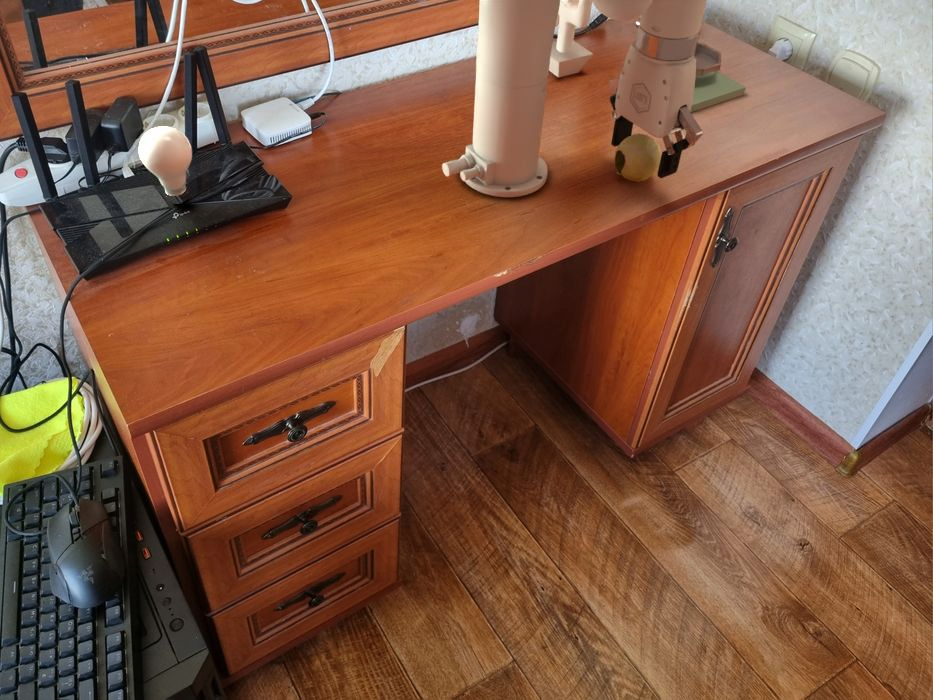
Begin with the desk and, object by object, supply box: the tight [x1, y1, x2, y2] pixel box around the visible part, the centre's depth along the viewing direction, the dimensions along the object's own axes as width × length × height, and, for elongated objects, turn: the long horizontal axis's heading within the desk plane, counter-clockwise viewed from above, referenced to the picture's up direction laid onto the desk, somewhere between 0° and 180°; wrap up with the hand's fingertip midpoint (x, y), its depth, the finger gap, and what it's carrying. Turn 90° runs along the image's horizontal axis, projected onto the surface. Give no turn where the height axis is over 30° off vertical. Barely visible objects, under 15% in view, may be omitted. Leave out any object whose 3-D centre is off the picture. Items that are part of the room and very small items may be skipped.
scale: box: [619, 70, 747, 114], centre depth 134 cm, size 16×14×3 cm
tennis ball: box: [613, 133, 662, 183], centre depth 112 cm, size 6×7×7 cm
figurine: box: [549, 0, 594, 78], centre depth 132 cm, size 7×9×15 cm
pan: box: [694, 41, 722, 78], centre depth 134 cm, size 10×10×2 cm
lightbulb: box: [138, 125, 193, 196], centre depth 102 cm, size 6×6×11 cm
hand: (643, 158), depth 112 cm, fingers open, 9 cm apart
